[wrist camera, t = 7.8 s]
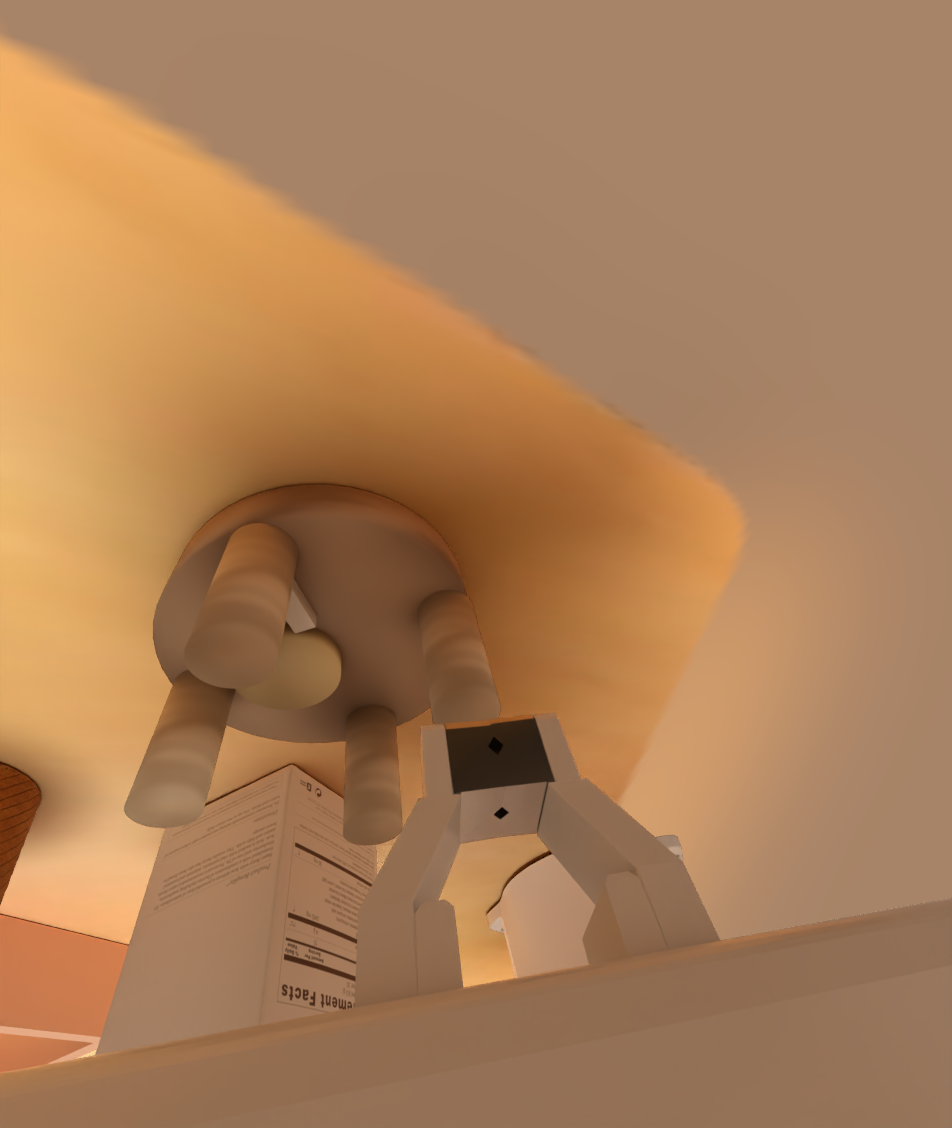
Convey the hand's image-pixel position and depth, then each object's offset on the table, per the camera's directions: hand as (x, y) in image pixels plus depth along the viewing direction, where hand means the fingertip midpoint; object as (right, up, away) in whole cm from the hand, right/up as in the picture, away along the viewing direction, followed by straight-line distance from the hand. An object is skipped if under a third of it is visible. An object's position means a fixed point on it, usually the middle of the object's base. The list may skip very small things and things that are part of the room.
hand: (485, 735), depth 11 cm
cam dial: (-7, +2, +11) cm, 13 cm away
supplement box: (-12, -12, +20) cm, 26 cm away
